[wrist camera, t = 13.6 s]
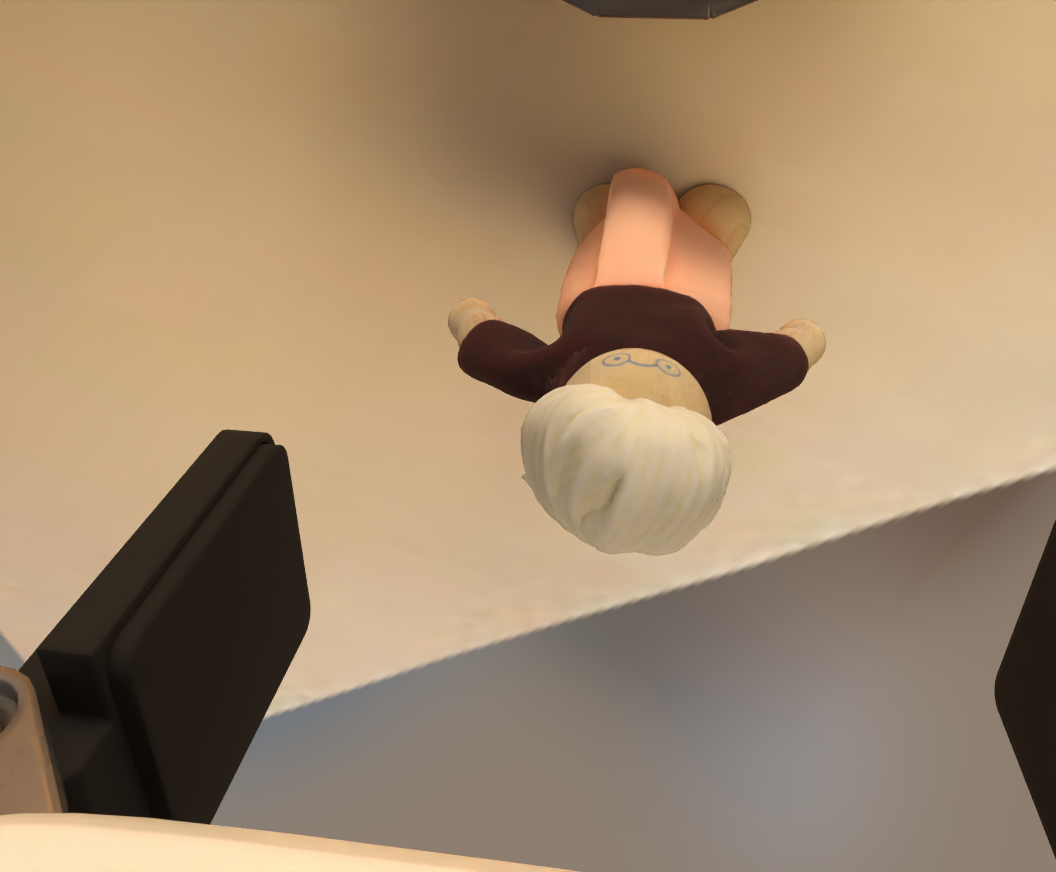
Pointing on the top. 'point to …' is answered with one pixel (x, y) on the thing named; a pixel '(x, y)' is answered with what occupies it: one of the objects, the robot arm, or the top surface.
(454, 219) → the top surface
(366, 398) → the top surface
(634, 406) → the grandmother figurine
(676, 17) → the pan
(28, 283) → the top surface
